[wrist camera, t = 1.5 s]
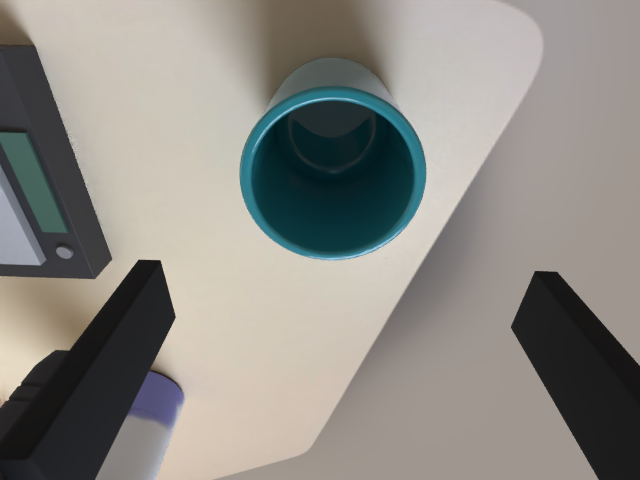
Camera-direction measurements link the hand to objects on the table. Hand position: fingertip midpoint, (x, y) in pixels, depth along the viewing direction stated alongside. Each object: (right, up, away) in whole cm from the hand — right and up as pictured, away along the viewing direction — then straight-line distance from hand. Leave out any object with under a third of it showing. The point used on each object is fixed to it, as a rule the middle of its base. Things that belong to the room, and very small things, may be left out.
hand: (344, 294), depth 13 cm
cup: (+1, +10, +15) cm, 18 cm away
